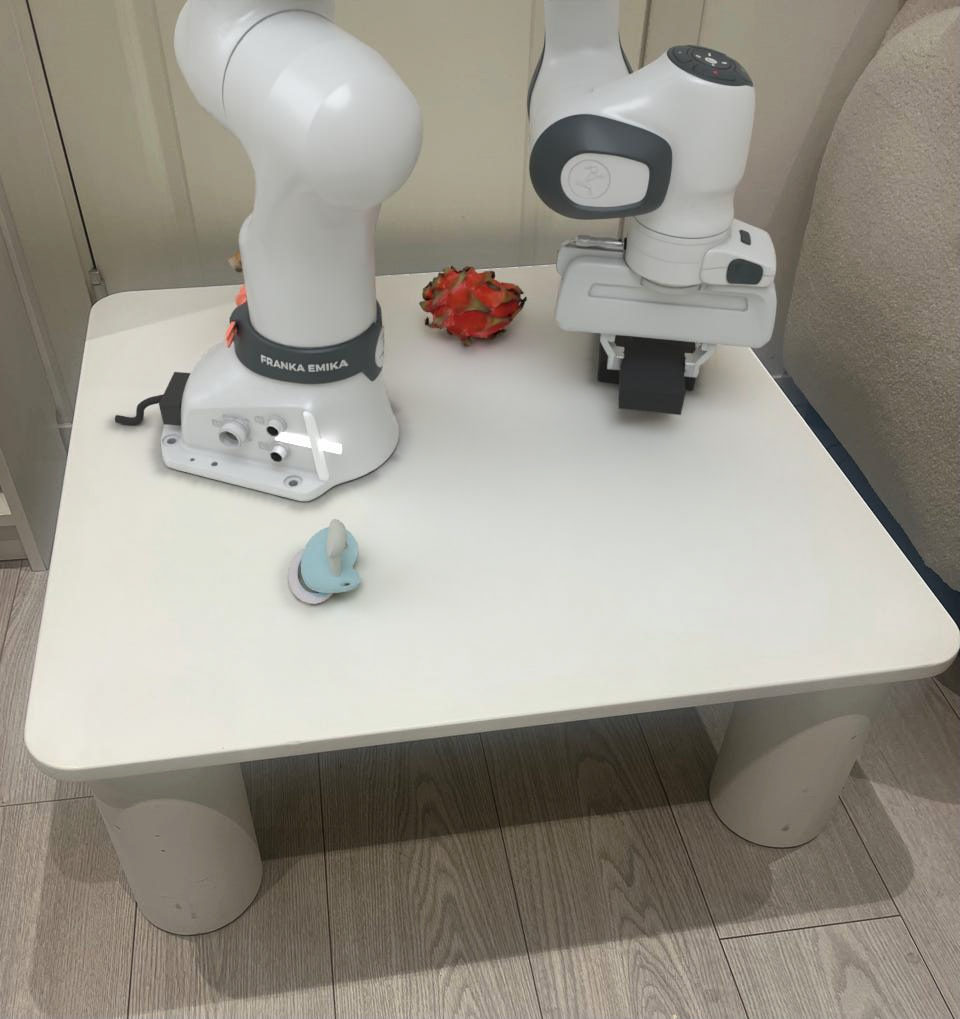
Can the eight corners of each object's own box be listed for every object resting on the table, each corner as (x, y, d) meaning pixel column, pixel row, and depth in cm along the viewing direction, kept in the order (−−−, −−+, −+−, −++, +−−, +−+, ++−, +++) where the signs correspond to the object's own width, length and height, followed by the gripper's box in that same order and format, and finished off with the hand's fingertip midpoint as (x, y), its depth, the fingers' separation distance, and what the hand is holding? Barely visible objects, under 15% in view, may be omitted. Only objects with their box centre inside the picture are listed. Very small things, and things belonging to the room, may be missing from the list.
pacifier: (289, 615, 82) (363, 606, 83) (278, 563, 78) (356, 555, 79) (288, 550, 88) (358, 542, 88) (278, 498, 83) (351, 490, 84)
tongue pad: (680, 415, 97) (685, 394, 95) (618, 408, 97) (621, 388, 96) (677, 345, 105) (682, 325, 103) (620, 339, 106) (623, 319, 104)
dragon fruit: (410, 344, 112) (513, 348, 115) (425, 342, 104) (536, 346, 107) (412, 266, 111) (516, 272, 114) (428, 257, 103) (540, 264, 106)
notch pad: (693, 390, 106) (697, 371, 104) (597, 381, 106) (599, 362, 104) (689, 325, 114) (693, 307, 112) (600, 317, 115) (603, 298, 113)
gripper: (556, 251, 88) (544, 379, 98) (794, 272, 87) (758, 399, 96) (561, 215, 92) (548, 341, 102) (787, 235, 91) (753, 360, 101)
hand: (652, 370), depth 99 cm, fingers closed on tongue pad, 6 cm apart
